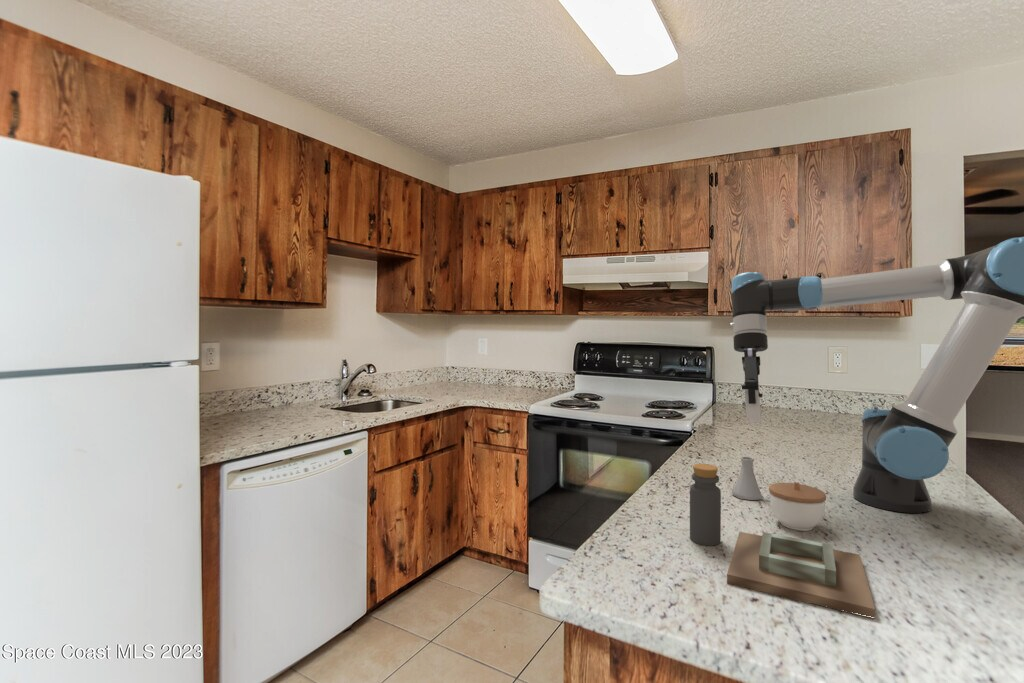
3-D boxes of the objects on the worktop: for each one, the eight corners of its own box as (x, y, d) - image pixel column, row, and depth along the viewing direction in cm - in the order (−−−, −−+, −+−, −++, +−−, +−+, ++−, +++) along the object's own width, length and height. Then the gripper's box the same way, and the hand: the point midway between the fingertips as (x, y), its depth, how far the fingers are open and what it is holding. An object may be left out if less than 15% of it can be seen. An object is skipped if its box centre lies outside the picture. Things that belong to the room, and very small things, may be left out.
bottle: (684, 534, 100) (685, 463, 100) (711, 533, 100) (711, 462, 100) (697, 546, 94) (698, 471, 94) (726, 545, 95) (726, 470, 94)
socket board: (859, 562, 87) (860, 541, 87) (874, 619, 70) (875, 592, 70) (739, 538, 98) (739, 519, 98) (726, 582, 81) (727, 559, 80)
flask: (755, 492, 126) (756, 454, 126) (767, 501, 119) (768, 461, 119) (727, 491, 127) (727, 453, 127) (737, 500, 120) (737, 461, 120)
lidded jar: (806, 539, 97) (806, 493, 97) (758, 521, 107) (758, 479, 107) (836, 529, 102) (836, 485, 102) (787, 512, 112) (788, 472, 112)
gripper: (736, 345, 131) (739, 423, 126) (729, 323, 109) (733, 416, 105) (767, 344, 127) (772, 424, 123) (766, 320, 106) (771, 417, 101)
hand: (754, 421), depth 114 cm, fingers open, 13 cm apart
